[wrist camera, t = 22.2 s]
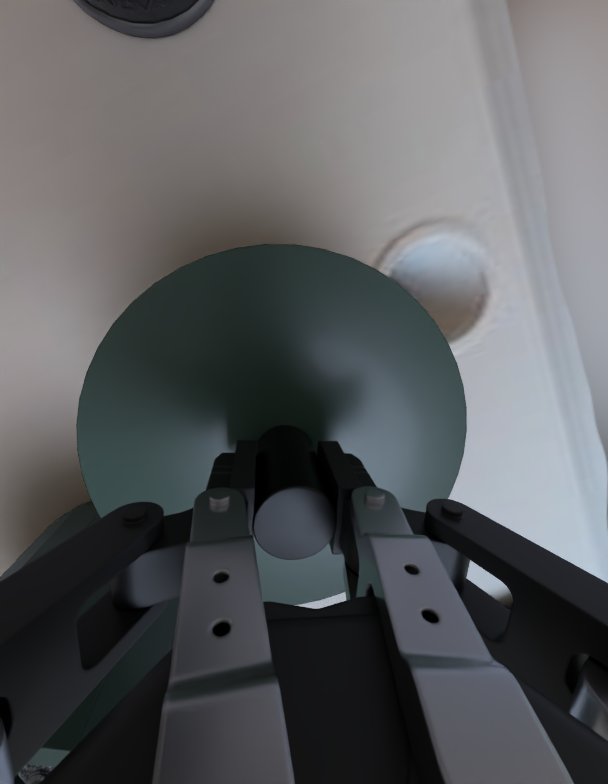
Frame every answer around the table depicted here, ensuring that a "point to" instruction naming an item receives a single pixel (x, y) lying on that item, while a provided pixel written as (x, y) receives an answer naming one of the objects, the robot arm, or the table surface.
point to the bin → (126, 669)
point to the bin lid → (273, 398)
